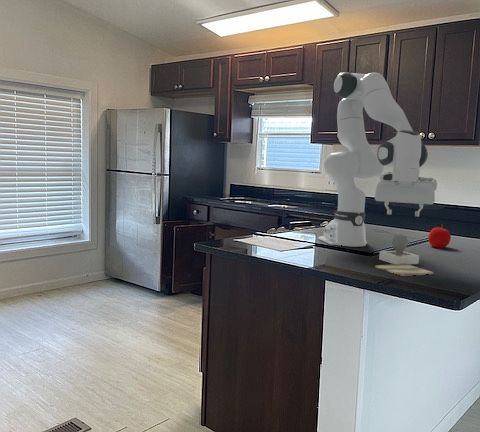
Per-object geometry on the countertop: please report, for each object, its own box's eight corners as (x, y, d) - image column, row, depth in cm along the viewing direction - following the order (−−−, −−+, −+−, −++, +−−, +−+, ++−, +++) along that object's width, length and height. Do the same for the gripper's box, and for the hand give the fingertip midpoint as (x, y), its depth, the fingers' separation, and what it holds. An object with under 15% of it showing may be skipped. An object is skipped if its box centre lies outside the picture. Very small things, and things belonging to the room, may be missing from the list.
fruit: (451, 250, 203) (454, 226, 201) (429, 248, 204) (431, 225, 203) (447, 246, 212) (449, 223, 210) (425, 244, 213) (427, 222, 212)
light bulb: (403, 260, 176) (405, 233, 175) (408, 263, 171) (411, 235, 170) (388, 259, 176) (390, 232, 175) (393, 263, 171) (396, 235, 170)
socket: (379, 259, 176) (379, 251, 176) (399, 258, 180) (400, 250, 180) (397, 265, 167) (398, 256, 167) (418, 263, 171) (419, 255, 171)
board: (375, 267, 163) (375, 265, 163) (405, 265, 168) (405, 263, 168) (402, 276, 151) (402, 274, 151) (433, 274, 156) (433, 272, 156)
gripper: (437, 177, 169) (434, 216, 171) (377, 175, 176) (374, 212, 178) (437, 178, 163) (434, 218, 165) (375, 175, 171) (372, 214, 172)
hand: (402, 215), depth 171 cm, fingers open, 8 cm apart
